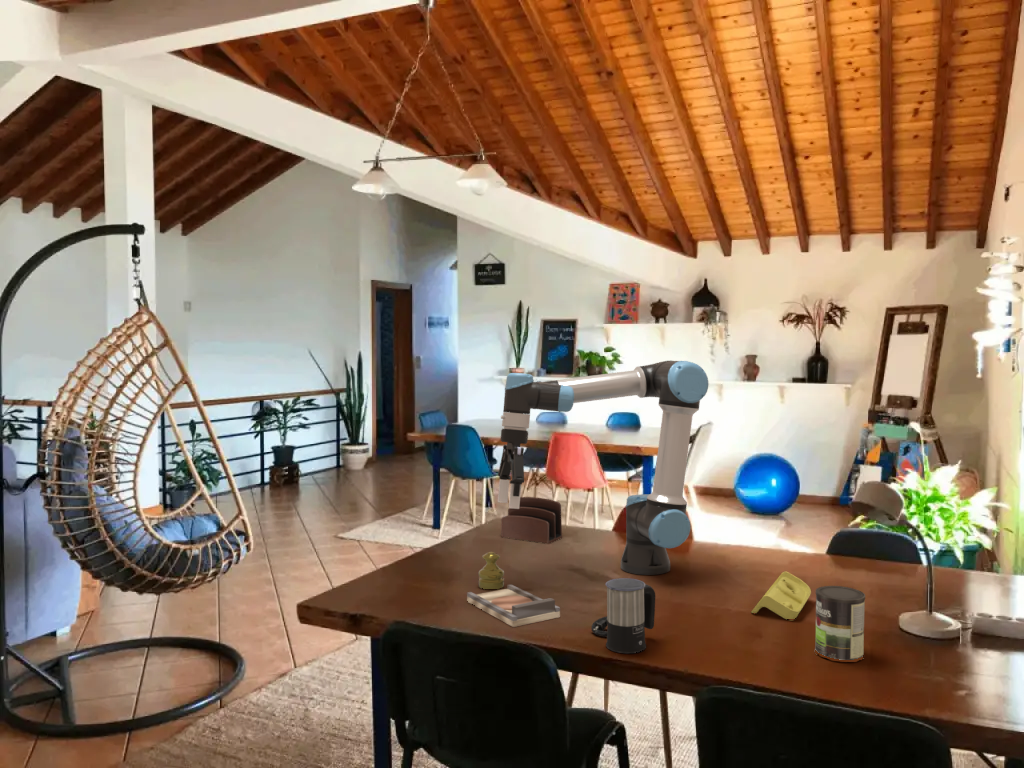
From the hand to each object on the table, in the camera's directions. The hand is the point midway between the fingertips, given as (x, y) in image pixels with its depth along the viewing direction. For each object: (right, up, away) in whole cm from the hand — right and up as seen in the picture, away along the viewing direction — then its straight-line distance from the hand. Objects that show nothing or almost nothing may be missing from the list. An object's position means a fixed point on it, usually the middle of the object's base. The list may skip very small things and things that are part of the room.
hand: (508, 505), depth 228 cm
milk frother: (+26, -27, -34) cm, 51 cm away
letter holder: (+8, -22, +69) cm, 73 cm away
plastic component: (+72, -26, -12) cm, 78 cm away
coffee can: (+74, -27, -44) cm, 90 cm away
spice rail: (+1, -26, -11) cm, 28 cm away
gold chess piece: (-5, -25, +10) cm, 27 cm away
